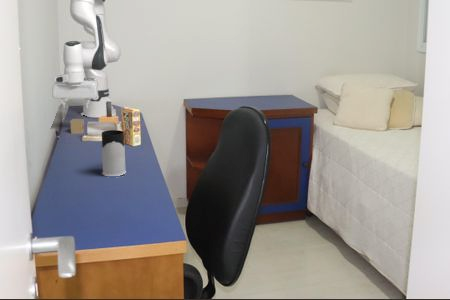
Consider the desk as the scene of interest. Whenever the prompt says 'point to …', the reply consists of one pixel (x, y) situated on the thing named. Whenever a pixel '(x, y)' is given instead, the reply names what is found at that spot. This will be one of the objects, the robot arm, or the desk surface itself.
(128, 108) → the candy box
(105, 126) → the press bed
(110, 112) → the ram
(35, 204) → the desk surface
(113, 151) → the glass holder
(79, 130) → the housing
